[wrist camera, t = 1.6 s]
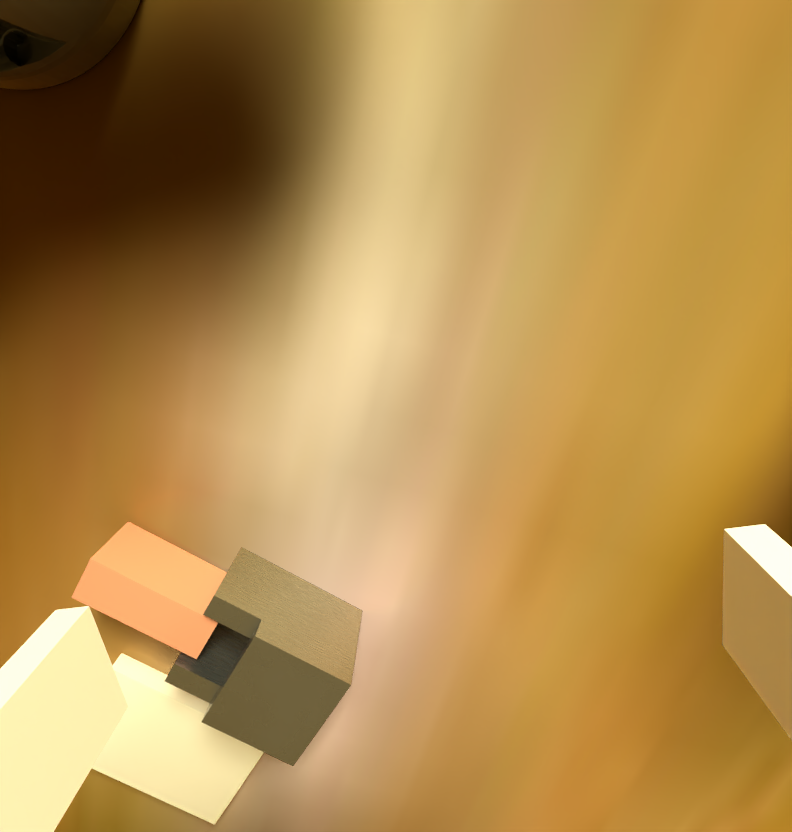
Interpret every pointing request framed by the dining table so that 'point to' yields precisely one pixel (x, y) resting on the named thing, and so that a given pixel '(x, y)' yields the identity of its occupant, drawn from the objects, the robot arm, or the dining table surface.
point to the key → (152, 588)
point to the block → (173, 746)
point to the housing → (271, 658)
